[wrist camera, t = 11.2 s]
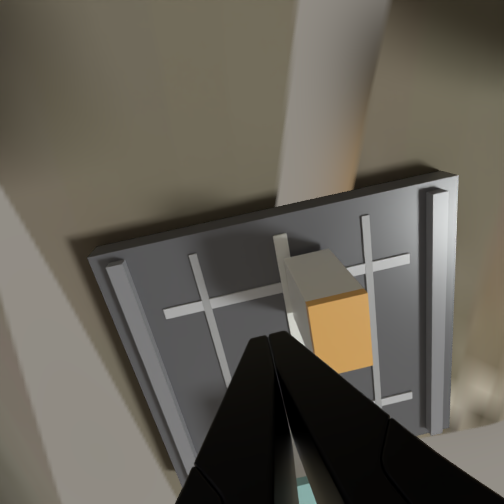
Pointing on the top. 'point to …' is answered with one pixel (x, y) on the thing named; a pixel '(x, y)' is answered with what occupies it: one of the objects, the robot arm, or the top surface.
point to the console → (288, 301)
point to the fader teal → (302, 479)
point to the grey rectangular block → (330, 310)
